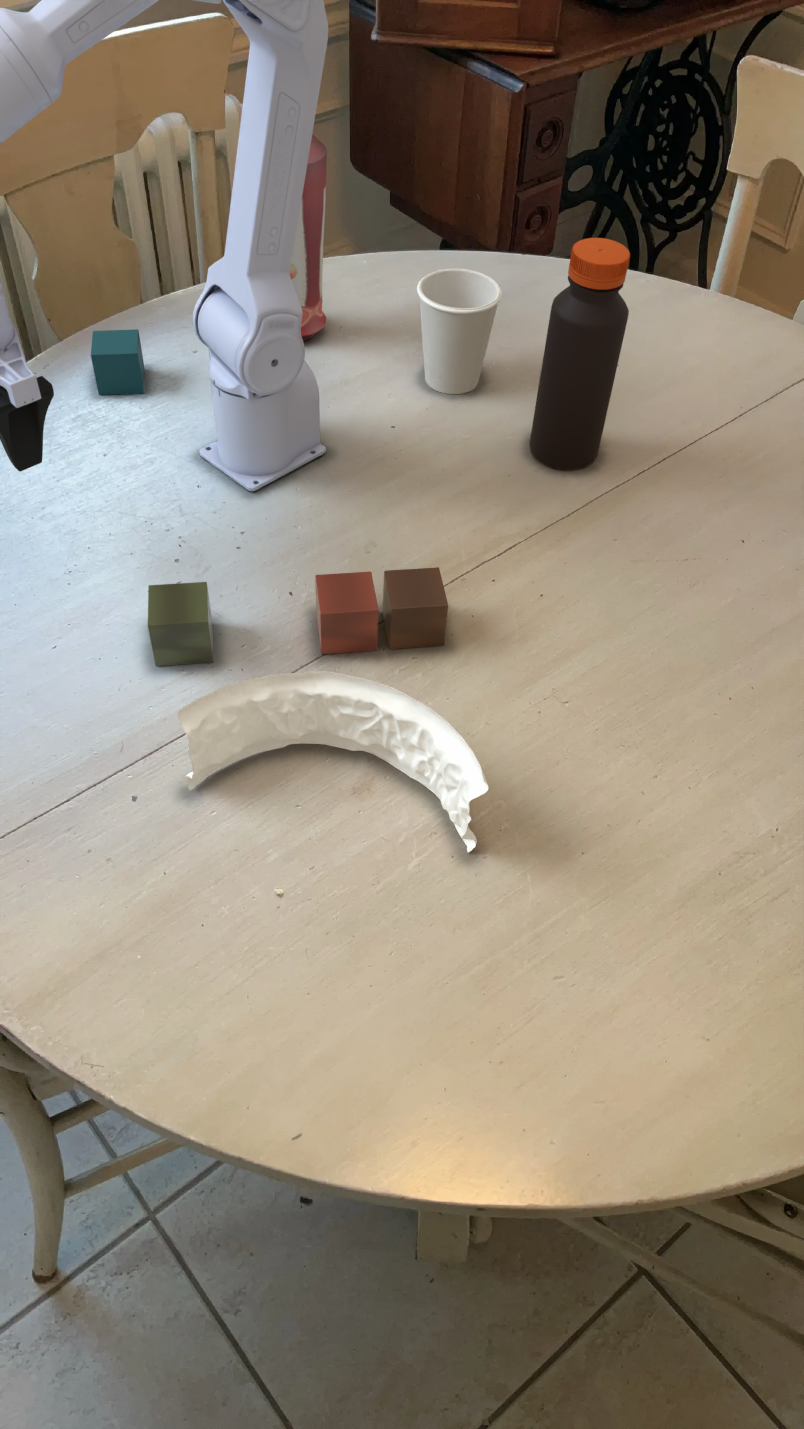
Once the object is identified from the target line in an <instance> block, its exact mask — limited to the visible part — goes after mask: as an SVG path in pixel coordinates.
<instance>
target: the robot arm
mask: <svg viewBox="0 0 804 1429" xmlns="http://www.w3.org/2000/svg"><path fill="white" fill-rule="evenodd" d="M192 1H194V2H200V3H202V2H203V3H208V4H217V5H218V4H221V3H222V2H223V4H224V5H225V6H226V8H227V9H228V11H229V12H230V13H231V15H232V16H233V19H235V21H236V22H237V23H238V25H239V27H240V28H241V29H242V30H243V32H244V33H245V35H246V36H247V38H248V41H249V51H248V57H247V58H248V59H247V67H246V74H245V84H244V92H243V98H242V99H243V100H242V108H241V115H240V124H239V131H238V132H239V133H238V141H237V148H236V155H235V156H236V157H235V164H234V174H233V179H232V180H233V181H232V188H231V196H230V206H229V215H228V222H227V230H226V238H225V246H224V254H223V257H222V256H221V258H220V259H218V260H217V261H215V262H213V263H212V264H211V265H210V266H209V267H208V268H207V275H206V281H205V285H204V288H203V290H202V292H201V294H200V296H199V297H198V300H197V301H196V303H195V305H194V308H193V311H192V327H193V331H194V333H195V336H196V337H197V339H198V340H199V341H200V342H201V343H202V344H203V345H205V346H206V347H207V348H208V354H209V361H210V362H209V377H210V378H209V379H210V387H211V388H210V389H211V397H212V407H213V416H214V417H213V418H214V426H215V435H216V441H214V442H211V443H209V444H208V445H205V446H204V447H202V448H200V449H199V456H200V457H201V458H203V459H204V460H206V461H207V462H208V463H210V464H211V465H213V466H214V467H215V468H217V469H218V470H220V472H222V473H224V474H225V475H226V476H228V477H229V478H231V479H232V480H233V481H235V482H236V483H238V484H239V485H240V486H242V487H243V488H244V489H246V490H247V491H249V492H255V491H257V490H259V489H261V488H263V487H265V486H267V485H268V484H270V483H272V482H274V481H276V480H278V479H280V478H281V477H283V476H286V475H287V474H289V473H290V472H291V473H292V472H293V471H295V470H297V469H298V468H300V467H302V466H304V465H306V464H308V463H310V462H311V461H314V460H315V459H317V458H319V457H320V456H323V455H324V454H326V452H327V448H326V446H324V445H323V444H321V417H320V416H321V414H320V410H321V408H320V389H319V385H318V382H317V379H316V376H315V373H314V372H313V370H312V368H311V367H310V365H309V364H308V363H307V361H305V357H306V349H305V343H304V340H302V336H301V321H302V315H303V312H302V308H301V305H300V302H299V300H298V297H297V294H296V291H295V289H294V286H293V283H292V280H291V277H290V267H291V261H292V255H293V249H294V243H295V237H296V230H297V224H298V218H299V212H300V206H301V200H302V194H303V188H304V182H305V176H306V170H307V163H308V157H309V151H310V145H311V139H312V135H313V133H314V126H315V120H316V115H317V114H316V113H317V108H318V102H319V96H320V90H321V84H322V77H323V71H324V66H325V59H326V54H327V47H328V41H329V21H328V16H327V13H326V6H325V2H324V0H192ZM158 2H160V0H40V1H39V2H38V3H36V5H34V6H33V7H32V8H31V9H30V10H29V11H27V12H26V11H25V12H23V11H17V10H13V9H9V8H5V7H0V145H2V144H3V143H4V142H5V141H6V140H8V139H9V138H10V137H12V136H13V135H14V134H16V133H17V132H18V131H19V130H20V129H21V128H23V127H24V126H25V125H27V124H28V123H29V122H30V121H32V120H33V119H34V118H35V117H37V116H38V115H40V114H41V113H42V112H43V111H44V110H45V109H47V108H48V107H49V106H51V105H52V104H53V103H54V102H55V101H57V100H58V99H59V98H60V97H61V96H62V92H63V86H64V78H65V70H66V66H67V65H68V64H69V63H71V62H72V61H73V60H75V59H77V58H78V57H80V55H81V56H82V54H84V53H85V52H87V51H88V50H89V49H91V48H92V47H94V46H95V45H97V44H98V43H100V42H101V41H102V40H104V39H106V38H107V37H108V36H110V35H111V34H112V33H114V32H115V31H117V30H119V29H120V28H121V27H123V26H124V25H126V24H127V23H128V22H130V21H131V20H133V19H134V18H136V17H137V16H138V15H140V14H142V13H143V12H144V11H146V10H147V9H149V8H150V7H152V6H153V5H155V4H156V3H158ZM54 397H55V392H54V386H53V384H52V383H51V382H50V381H49V380H48V379H46V377H44V376H43V375H40V376H38V377H37V376H36V374H35V373H34V372H33V371H32V370H31V369H30V367H29V366H28V363H27V360H26V356H25V353H24V350H23V348H22V344H21V341H20V338H19V335H18V332H17V329H16V328H15V326H14V325H13V324H12V320H11V316H10V313H9V309H8V306H7V300H6V298H5V294H4V289H3V286H2V281H0V443H1V445H2V447H3V449H4V451H5V453H6V455H7V458H8V460H9V461H10V463H11V465H12V466H13V467H14V468H15V469H16V470H17V471H18V472H23V471H26V470H28V469H30V468H33V467H35V466H38V465H40V464H42V462H43V453H44V452H43V451H44V429H45V422H46V416H47V413H48V410H49V407H50V405H51V402H52V400H53V398H54Z"/></svg>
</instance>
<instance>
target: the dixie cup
mask: <svg viewBox="0 0 804 1429" xmlns="http://www.w3.org/2000/svg"><path fill="white" fill-rule="evenodd" d="M416 292H417V295H418V297H419V312H420V325H421V339H422V354H423V367H424V368H423V370H424V381H425V383H426V384H427V385H428V387H429V388H431V389H432V390H434V391H436V392H439V393H442V394H446V395H447V394H448V395H461V394H466V393H469V392H471V391H473V390H475V389H476V387H477V386H478V385H479V381H480V377H481V373H482V369H483V365H484V361H485V356H486V353H487V349H488V346H489V341H490V336H491V333H492V329H493V324H494V321H495V317H496V312H497V308H498V304H499V303H500V302H501V300H502V296H503V292H502V289H501V286H500V284H498V282H497V281H495V279H493V278H492V277H490V276H488V275H487V274H485V273H482V272H479V271H476V270H473V269H467V268H444V269H438V270H435V271H431V272H429V273H427V274H426V275H424V277H422V278H421V279H420V280H419V282H418V283H417V286H416Z"/></svg>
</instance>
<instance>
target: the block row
mask: <svg viewBox="0 0 804 1429" xmlns="http://www.w3.org/2000/svg"><path fill="white" fill-rule="evenodd" d="M314 576H315V577H314V578H315V579H314V580H315V615H316V616H315V617H316V622H317V623H316V624H317V625H316V626H317V632H318V640H319V647H320V654H321V655H329V654H331V655H333V654H344V653H358V652H371V651H372V652H373V651H377V650H378V636H379V635H378V632H379V606H378V600H377V594H376V589H375V584H374V579H373V573H372V571H370V570H369V571H357V572H355V571H354V572H339V573H323V574H315V575H314ZM147 586H148V589H147V630H148V634H149V640H150V646H151V650H152V656H153V660H154V665H155V667H163V666H177V665H179V666H180V665H192V664H206V663H214V637H213V636H214V635H213V633H214V632H213V618H212V610H211V603H210V596H209V595H210V594H209V588H208V587H209V586H208V582H207V581H196V582H182V583H181V582H179V583H165V584H164V583H163V584H149V585H147ZM381 612H382V616H383V622H384V627H385V628H384V629H385V632H386V637H387V643H388V649H389V650H397V649H411V648H413V649H414V648H425V647H439V646H444V645H445V642H446V641H445V640H446V631H447V622H448V613H449V603H448V598H447V594H446V589H445V585H444V582H443V578H442V573H441V569H440V567H438V566H437V567H421V568H407V569H391V570H389V569H387V570H384V571H383V586H382V611H381Z"/></svg>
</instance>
